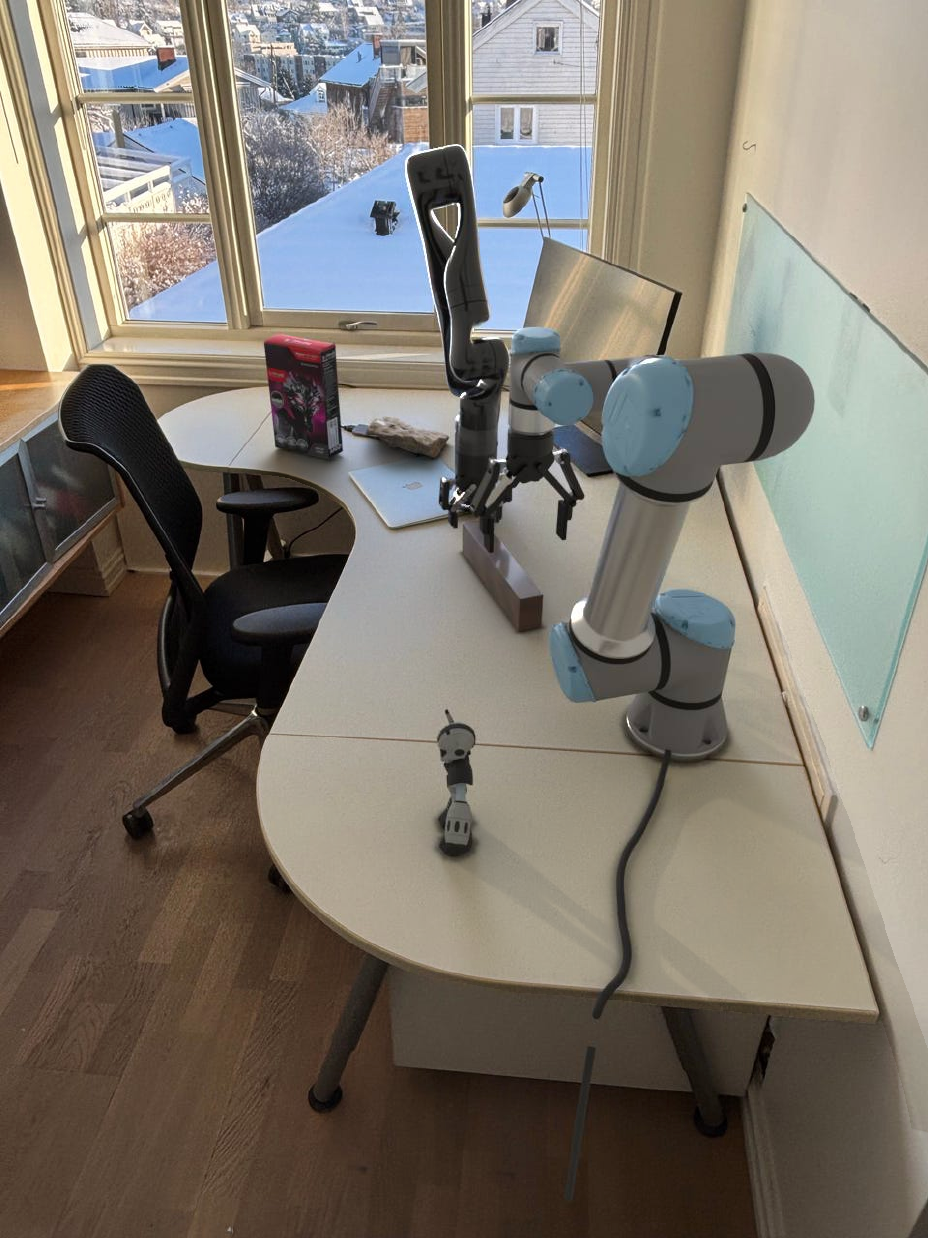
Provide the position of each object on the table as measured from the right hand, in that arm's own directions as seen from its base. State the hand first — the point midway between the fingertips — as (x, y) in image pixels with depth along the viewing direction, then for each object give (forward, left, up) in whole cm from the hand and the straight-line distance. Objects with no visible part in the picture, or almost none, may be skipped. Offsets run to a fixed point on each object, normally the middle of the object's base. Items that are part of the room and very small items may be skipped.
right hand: (525, 542), depth 160 cm
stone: (+68, +45, -16) cm, 83 cm away
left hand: (+17, +14, -7) cm, 23 cm away
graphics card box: (+59, +67, -16) cm, 91 cm away
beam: (+9, +6, -16) cm, 19 cm away
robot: (-54, -3, -16) cm, 56 cm away
